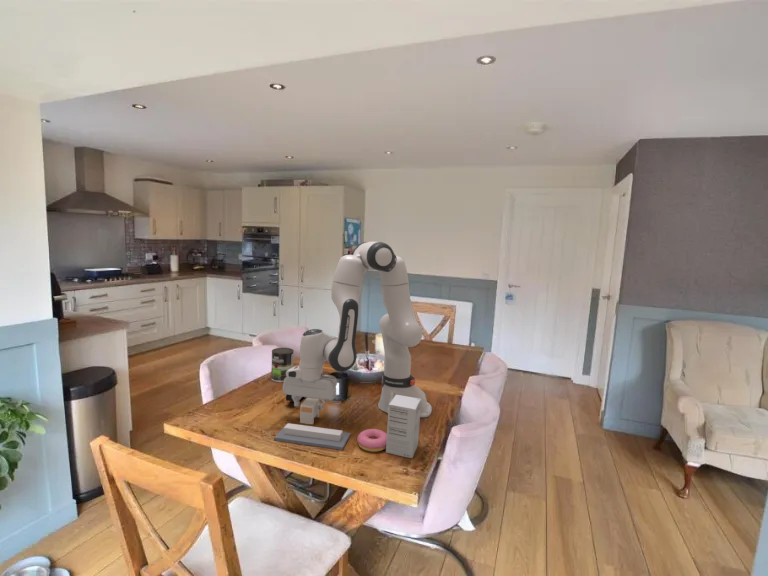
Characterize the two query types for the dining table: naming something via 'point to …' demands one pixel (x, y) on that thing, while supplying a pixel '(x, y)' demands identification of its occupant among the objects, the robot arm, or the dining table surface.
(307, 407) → the block
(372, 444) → the doughnut
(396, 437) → the supplement box
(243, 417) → the dining table surface
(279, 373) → the coffee can
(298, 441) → the rail
